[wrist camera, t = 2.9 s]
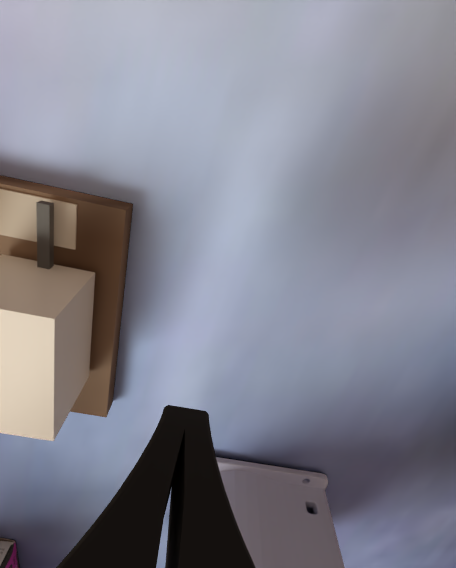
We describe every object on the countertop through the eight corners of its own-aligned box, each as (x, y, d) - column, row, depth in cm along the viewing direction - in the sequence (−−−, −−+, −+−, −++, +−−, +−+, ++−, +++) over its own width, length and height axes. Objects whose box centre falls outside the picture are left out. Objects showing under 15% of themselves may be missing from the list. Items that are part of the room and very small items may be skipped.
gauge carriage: (99, 211, 14) (55, 242, 11) (88, 376, 18) (53, 441, 14) (-54, 179, 14) (-154, 200, 10) (-33, 355, 18) (-101, 417, 14)
